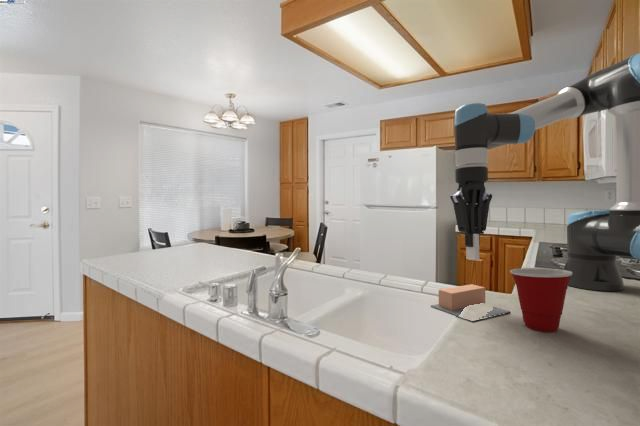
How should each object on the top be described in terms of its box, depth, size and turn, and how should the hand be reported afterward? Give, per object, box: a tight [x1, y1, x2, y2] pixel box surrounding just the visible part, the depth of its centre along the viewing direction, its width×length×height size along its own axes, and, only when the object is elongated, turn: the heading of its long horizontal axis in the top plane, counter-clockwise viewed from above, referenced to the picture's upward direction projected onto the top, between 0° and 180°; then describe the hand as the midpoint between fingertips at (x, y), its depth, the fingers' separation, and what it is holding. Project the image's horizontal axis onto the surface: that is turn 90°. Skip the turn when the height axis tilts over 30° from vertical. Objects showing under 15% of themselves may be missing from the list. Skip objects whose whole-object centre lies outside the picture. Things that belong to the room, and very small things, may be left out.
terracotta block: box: [438, 283, 486, 310], centre depth 82 cm, size 4×4×12 cm
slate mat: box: [430, 303, 511, 319], centre depth 79 cm, size 13×12×1 cm
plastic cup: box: [509, 267, 572, 333], centre depth 68 cm, size 11×11×12 cm
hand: (472, 259), depth 84 cm, fingers closed
